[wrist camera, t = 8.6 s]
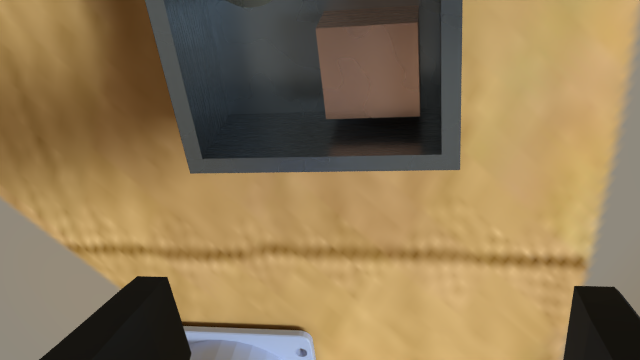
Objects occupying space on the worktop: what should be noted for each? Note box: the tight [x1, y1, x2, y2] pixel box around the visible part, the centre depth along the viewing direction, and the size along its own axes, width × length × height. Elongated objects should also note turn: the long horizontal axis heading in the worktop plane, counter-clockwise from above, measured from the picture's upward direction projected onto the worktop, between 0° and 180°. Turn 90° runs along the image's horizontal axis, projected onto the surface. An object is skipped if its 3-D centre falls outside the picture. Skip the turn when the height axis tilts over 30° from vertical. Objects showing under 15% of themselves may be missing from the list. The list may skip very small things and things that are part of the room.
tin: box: [145, 0, 462, 173], centre depth 17 cm, size 8×8×4 cm
